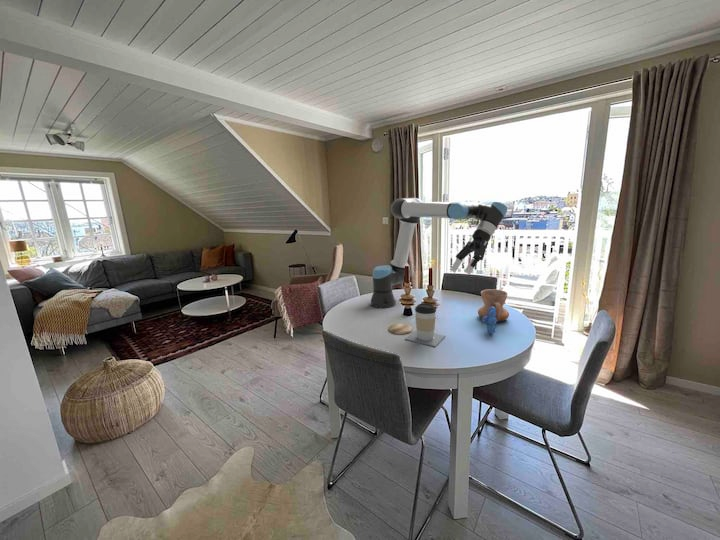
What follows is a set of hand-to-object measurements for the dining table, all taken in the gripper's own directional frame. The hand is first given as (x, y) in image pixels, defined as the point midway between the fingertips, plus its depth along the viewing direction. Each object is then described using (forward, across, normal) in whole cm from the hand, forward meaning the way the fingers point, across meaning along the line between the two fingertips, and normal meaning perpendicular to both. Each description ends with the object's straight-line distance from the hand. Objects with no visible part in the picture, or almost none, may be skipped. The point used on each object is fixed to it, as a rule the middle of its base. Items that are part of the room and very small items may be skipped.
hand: (459, 272), depth 134 cm
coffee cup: (+34, -3, -1) cm, 34 cm away
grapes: (+16, -3, -26) cm, 31 cm away
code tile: (+34, -3, -2) cm, 34 cm away
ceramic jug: (+8, +11, -34) cm, 37 cm away
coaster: (+37, +9, +6) cm, 39 cm away
